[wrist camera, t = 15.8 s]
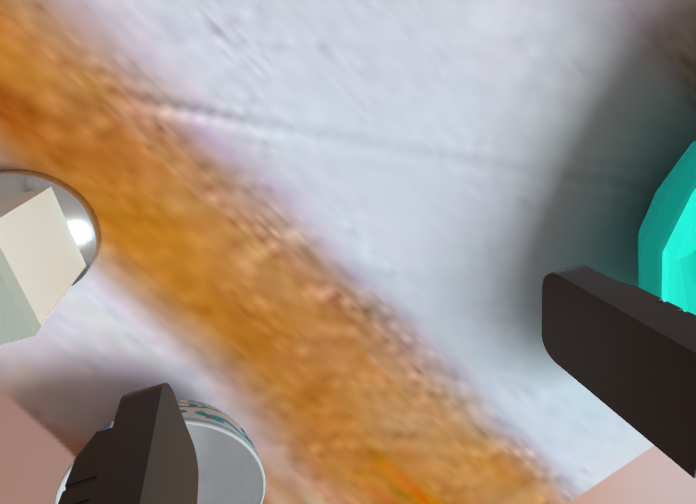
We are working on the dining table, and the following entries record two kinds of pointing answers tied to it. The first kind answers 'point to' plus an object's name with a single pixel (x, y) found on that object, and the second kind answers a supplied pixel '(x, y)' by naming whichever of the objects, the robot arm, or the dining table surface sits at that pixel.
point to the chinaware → (217, 457)
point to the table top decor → (671, 237)
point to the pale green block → (33, 261)
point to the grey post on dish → (71, 205)
